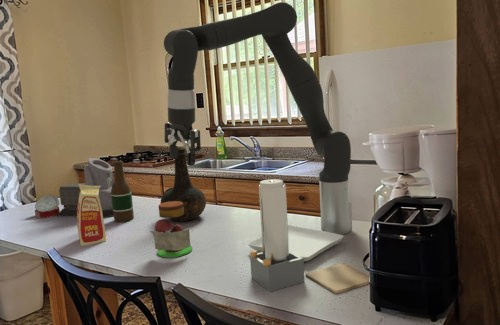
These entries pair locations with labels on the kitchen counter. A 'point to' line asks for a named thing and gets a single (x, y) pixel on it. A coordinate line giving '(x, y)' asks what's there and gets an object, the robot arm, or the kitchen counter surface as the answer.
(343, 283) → the mat
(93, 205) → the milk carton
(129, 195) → the beer bottle
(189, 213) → the glass bottle
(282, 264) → the box
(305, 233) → the salad plate
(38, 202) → the red white domed cylinder
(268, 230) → the white tall cylinder
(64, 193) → the juicer
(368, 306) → the kitchen counter surface
